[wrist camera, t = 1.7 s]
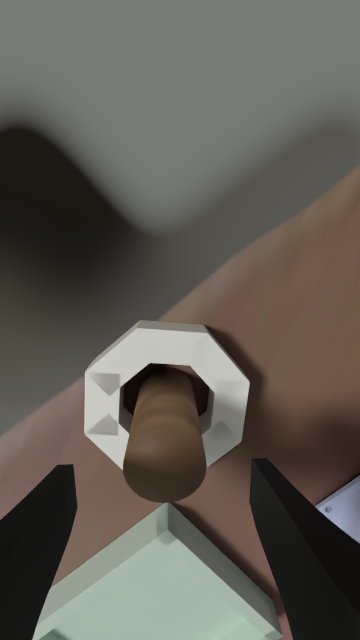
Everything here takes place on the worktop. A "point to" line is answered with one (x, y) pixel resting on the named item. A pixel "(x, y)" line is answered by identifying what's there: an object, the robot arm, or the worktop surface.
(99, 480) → the worktop surface
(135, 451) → the dowel pin
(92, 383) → the white octagonal ring
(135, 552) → the tray
